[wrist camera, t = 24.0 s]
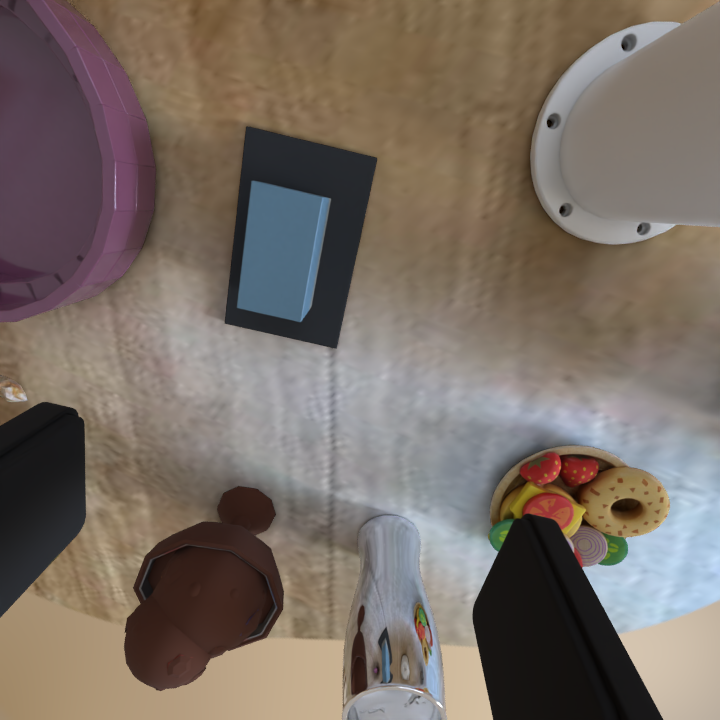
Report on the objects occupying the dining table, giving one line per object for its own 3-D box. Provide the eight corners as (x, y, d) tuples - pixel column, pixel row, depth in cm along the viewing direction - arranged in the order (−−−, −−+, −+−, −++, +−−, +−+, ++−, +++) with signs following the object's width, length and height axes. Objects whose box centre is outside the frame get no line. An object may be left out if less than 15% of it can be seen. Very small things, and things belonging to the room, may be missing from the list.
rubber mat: (247, 127, 28) (246, 125, 28) (377, 158, 28) (377, 157, 28) (226, 322, 33) (224, 323, 32) (336, 347, 33) (336, 348, 33)
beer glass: (440, 533, 39) (474, 715, 25) (397, 577, 41) (407, 768, 27) (379, 498, 38) (379, 669, 24) (339, 546, 40) (317, 727, 26)
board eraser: (269, 183, 29) (251, 179, 25) (331, 198, 29) (323, 197, 25) (255, 294, 32) (236, 308, 27) (311, 307, 32) (301, 322, 28)
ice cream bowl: (257, 571, 42) (195, 755, 28) (167, 507, 40) (50, 673, 26) (327, 513, 39) (297, 686, 25) (234, 439, 37) (144, 585, 23)
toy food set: (669, 475, 36) (696, 499, 33) (580, 577, 40) (596, 607, 37) (537, 415, 34) (552, 435, 31) (459, 528, 39) (465, 555, 36)
